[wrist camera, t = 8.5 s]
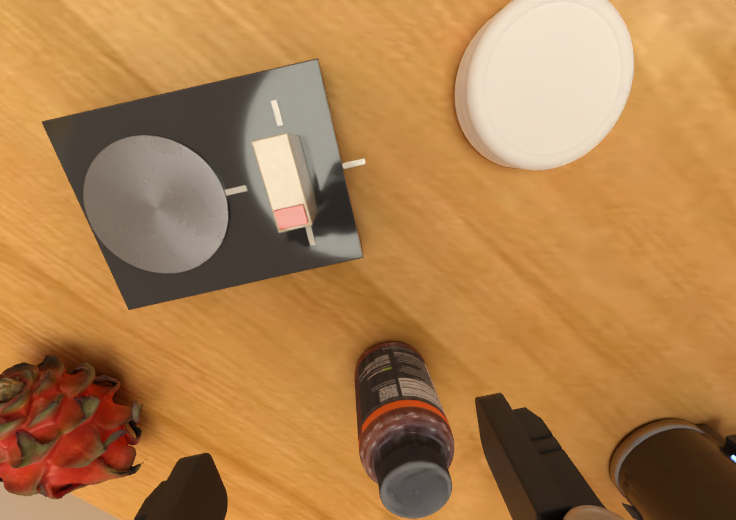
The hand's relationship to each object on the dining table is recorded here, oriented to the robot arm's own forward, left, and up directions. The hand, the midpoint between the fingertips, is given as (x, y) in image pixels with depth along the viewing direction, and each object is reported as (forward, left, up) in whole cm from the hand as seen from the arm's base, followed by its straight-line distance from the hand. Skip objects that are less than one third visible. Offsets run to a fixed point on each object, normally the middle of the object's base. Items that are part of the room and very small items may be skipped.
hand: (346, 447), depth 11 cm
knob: (+2, -7, -14) cm, 16 cm away
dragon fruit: (+22, +6, -18) cm, 29 cm away
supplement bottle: (-1, +10, -18) cm, 20 cm away
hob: (+7, -7, -17) cm, 20 cm away
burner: (+10, -7, -14) cm, 19 cm away
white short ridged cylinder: (-14, -9, -18) cm, 25 cm away
